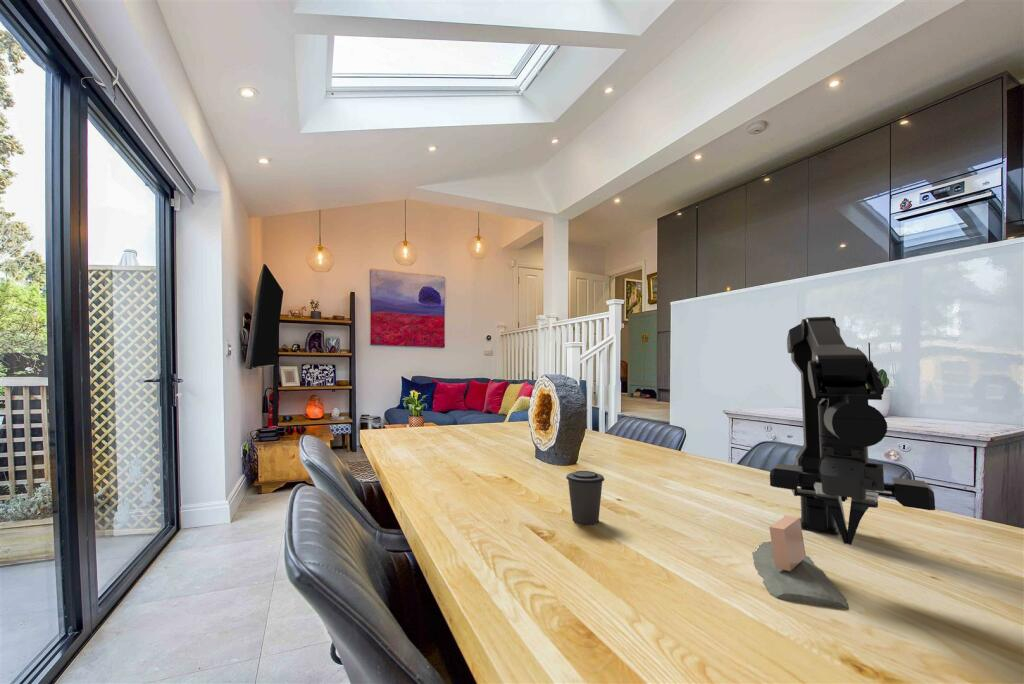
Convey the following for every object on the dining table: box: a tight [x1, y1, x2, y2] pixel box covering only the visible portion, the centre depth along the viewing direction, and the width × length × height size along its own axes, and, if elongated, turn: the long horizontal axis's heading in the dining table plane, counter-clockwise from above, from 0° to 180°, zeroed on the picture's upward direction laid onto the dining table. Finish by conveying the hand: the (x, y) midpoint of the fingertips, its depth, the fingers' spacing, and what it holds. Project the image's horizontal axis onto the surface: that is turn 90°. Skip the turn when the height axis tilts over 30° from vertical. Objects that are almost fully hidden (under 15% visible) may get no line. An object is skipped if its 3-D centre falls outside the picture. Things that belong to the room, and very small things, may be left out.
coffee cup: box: [565, 470, 606, 526], centre depth 90 cm, size 8×8×10 cm
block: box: [769, 515, 807, 571], centre depth 67 cm, size 2×7×6 cm, turn 130°
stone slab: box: [751, 540, 849, 610], centre depth 68 cm, size 22×3×10 cm
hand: (847, 543), depth 63 cm, fingers closed
